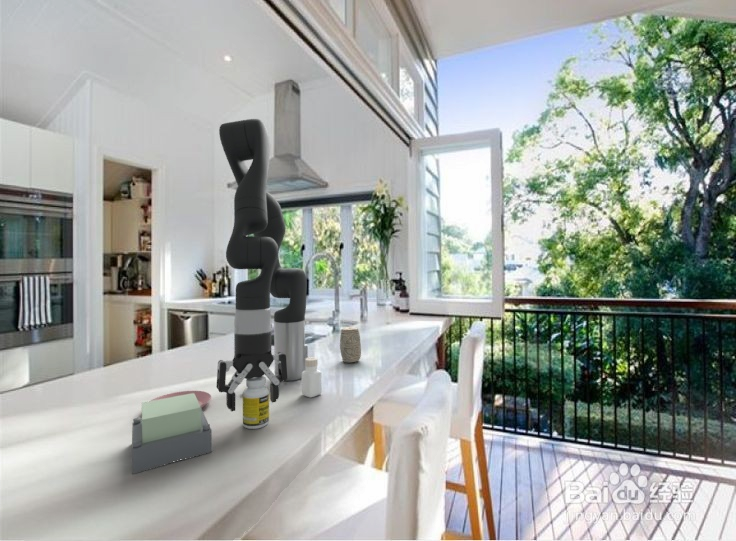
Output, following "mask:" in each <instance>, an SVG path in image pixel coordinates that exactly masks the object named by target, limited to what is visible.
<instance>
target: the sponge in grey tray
mask: <svg viewBox="0 0 736 541" xmlns="http://www.w3.org/2000/svg"><path fill="white" fill-rule="evenodd" d="M152 400H153V399H152ZM132 420H133V422H132V428H131V429H132V430H131V474H132V475H133V474H137V473H141V471H142V472H145V470H146V471H148V469H149V470H151V469H150V468H153V469H155V468H154V467H156V468H159V467H158V466H160V467H162V466H161V465H164V464H167V465H169V464H168V463H171V462H173V461H177V460H180V459H185V458H189V459H191V458H190V457H192V458H194V457H193V456H196V457H198V456H197V455H200V456H203V455H206V453H207V454H209V453H212V451H213V446H212V445H213V443H212V441H213V440H212V439H213V438H212V437H213V436H212V428H211V425H210V424H211V423H209V422H208V420H207V417H206V415H205V413H204V411H203V408H202V409H201V406H200V404H199V402H198V400H197V398H196V396H195V394H194V393H191V394H186V395H180V396H175V397H170V398H164V399H159V400H153V401H151V400H148V401H144V402H141V417H135V418H133V419H132ZM185 460H186V459H185ZM171 464H172V463H171ZM164 466H165V465H164Z"/></svg>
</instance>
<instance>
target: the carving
mask: <svg viewBox="0 0 736 541" xmlns="http://www.w3.org/2000/svg"><path fill="white" fill-rule="evenodd" d="M339 349H340V356H341V358H342V361H343V362H344V363H348V364H349V363H350V364H351V363H355V362H358V361H360V359H361V358H362V357H361V356H362V345H361V335H360V330H359V328H358V327H353V326H345V327H342V328H341V329H340V338H339Z"/></svg>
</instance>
